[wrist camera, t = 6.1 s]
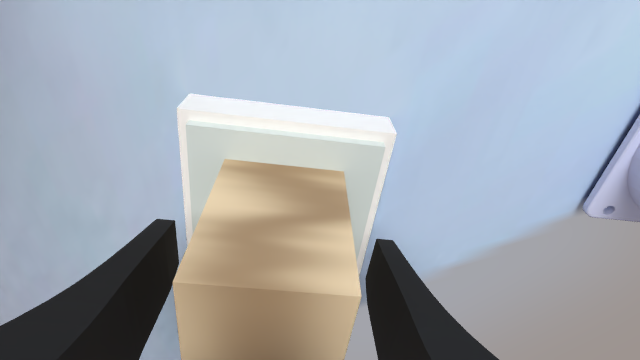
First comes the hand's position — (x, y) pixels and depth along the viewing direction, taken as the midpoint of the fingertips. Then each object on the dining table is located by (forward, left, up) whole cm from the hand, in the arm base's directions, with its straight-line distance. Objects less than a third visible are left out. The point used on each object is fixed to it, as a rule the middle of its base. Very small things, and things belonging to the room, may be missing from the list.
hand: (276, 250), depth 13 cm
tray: (0, 0, -4) cm, 4 cm away
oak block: (0, 0, -2) cm, 2 cm away
